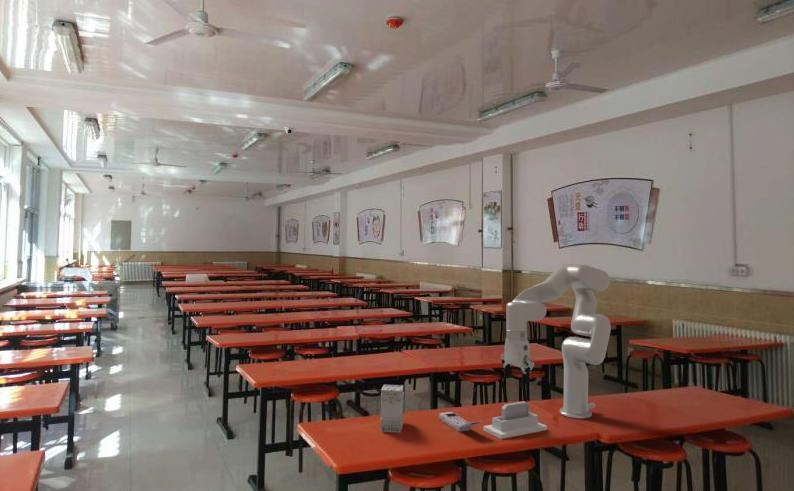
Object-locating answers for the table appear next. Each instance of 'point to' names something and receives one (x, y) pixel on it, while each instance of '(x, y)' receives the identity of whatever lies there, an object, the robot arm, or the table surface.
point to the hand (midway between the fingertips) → (516, 380)
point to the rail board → (514, 426)
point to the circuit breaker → (392, 408)
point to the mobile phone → (456, 421)
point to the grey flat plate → (515, 410)
